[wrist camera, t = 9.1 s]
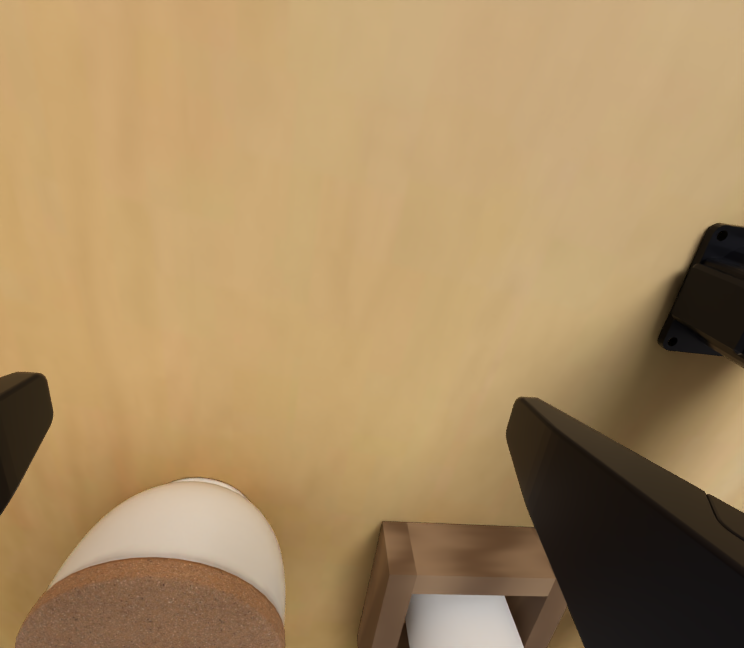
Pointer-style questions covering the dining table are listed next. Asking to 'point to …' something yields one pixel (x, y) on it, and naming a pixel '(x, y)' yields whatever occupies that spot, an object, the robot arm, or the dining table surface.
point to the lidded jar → (168, 576)
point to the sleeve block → (459, 577)
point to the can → (460, 622)
